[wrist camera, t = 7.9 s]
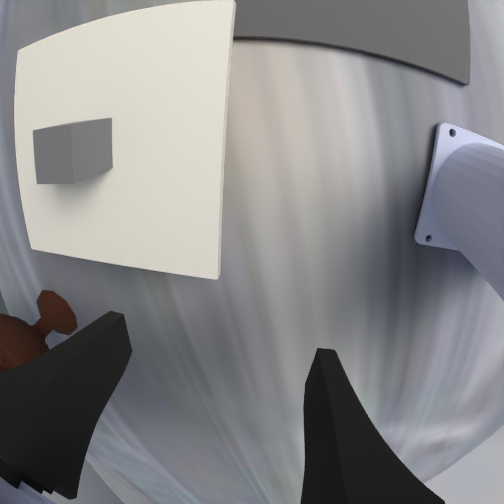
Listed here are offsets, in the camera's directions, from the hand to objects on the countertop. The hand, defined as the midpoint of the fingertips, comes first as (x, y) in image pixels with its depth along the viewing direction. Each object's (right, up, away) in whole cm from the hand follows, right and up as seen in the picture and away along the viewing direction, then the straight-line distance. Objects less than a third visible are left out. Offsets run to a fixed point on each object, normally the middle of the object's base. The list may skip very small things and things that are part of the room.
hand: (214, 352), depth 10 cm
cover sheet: (-6, +9, +2) cm, 11 cm away
